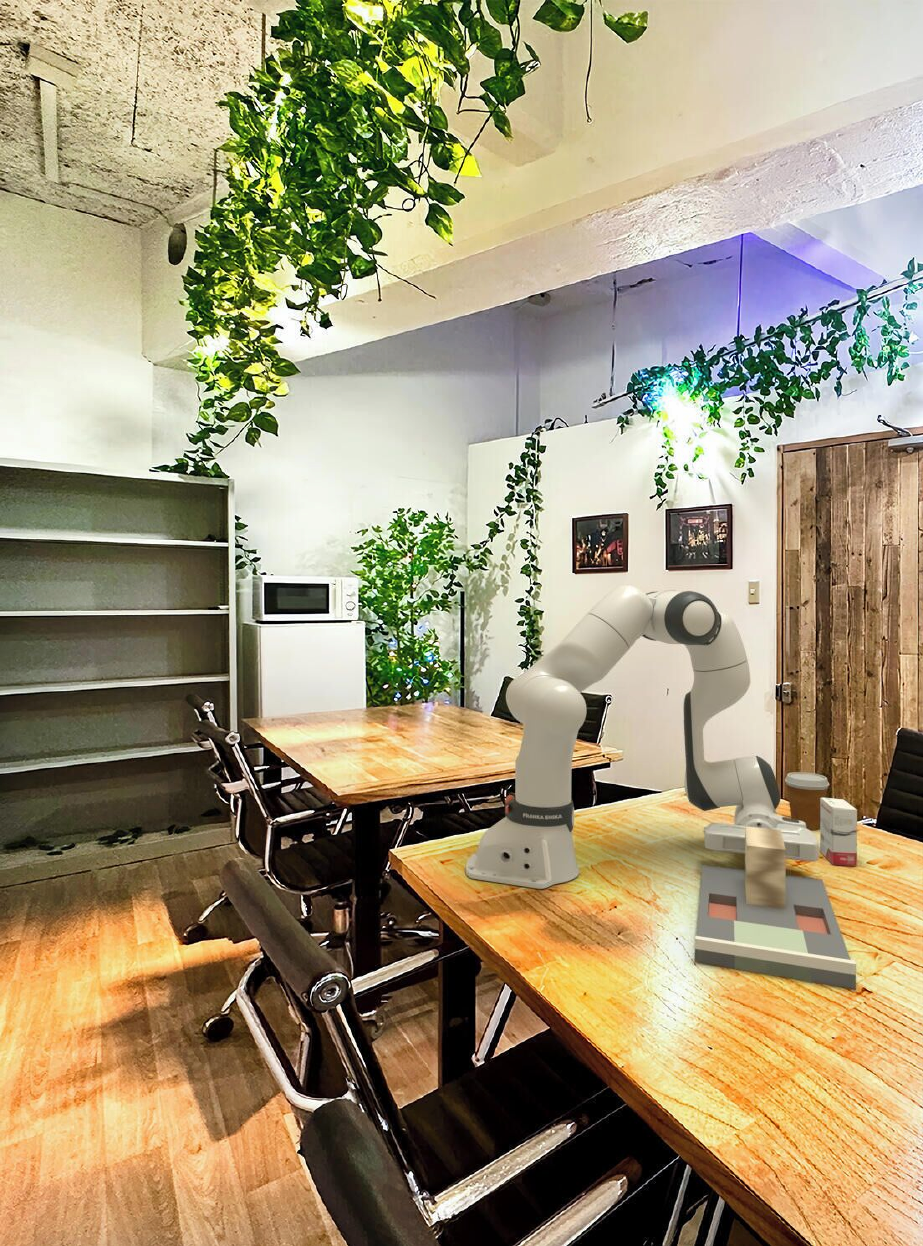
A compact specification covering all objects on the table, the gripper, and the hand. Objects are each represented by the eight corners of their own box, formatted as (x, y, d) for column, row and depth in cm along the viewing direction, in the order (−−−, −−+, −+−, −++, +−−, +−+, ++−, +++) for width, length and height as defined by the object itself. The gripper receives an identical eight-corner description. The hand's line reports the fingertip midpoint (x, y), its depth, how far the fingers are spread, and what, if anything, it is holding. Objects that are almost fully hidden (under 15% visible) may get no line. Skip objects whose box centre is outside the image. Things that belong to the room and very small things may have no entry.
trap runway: (694, 961, 103) (695, 938, 103) (702, 874, 137) (702, 857, 137) (855, 989, 96) (856, 964, 96) (822, 889, 130) (822, 871, 130)
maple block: (746, 903, 119) (746, 845, 119) (744, 879, 129) (745, 826, 129) (785, 908, 117) (785, 849, 117) (780, 884, 127) (780, 829, 127)
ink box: (858, 867, 141) (858, 809, 141) (831, 865, 142) (832, 807, 142) (843, 852, 149) (844, 797, 149) (819, 850, 150) (819, 796, 150)
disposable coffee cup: (775, 822, 170) (776, 773, 170) (807, 818, 173) (807, 770, 173) (805, 834, 161) (806, 782, 161) (838, 830, 164) (838, 779, 164)
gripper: (703, 811, 145) (702, 831, 132) (813, 822, 138) (823, 844, 125) (703, 841, 145) (701, 864, 132) (813, 854, 138) (822, 879, 125)
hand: (761, 855), depth 128 cm, fingers closed
